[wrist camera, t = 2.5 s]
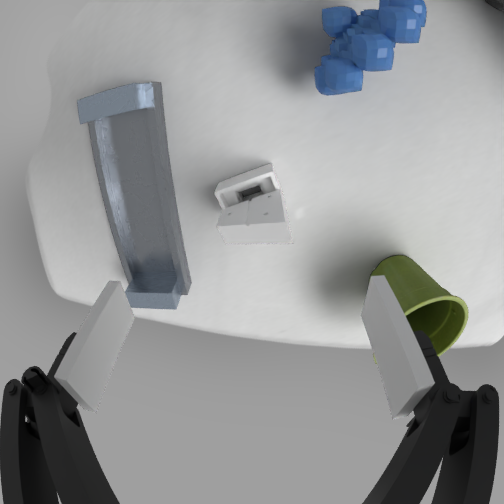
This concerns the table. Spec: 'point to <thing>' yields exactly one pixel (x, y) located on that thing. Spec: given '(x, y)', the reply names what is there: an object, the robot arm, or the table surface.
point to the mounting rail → (139, 191)
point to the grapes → (365, 42)
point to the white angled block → (253, 209)
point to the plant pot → (424, 302)
